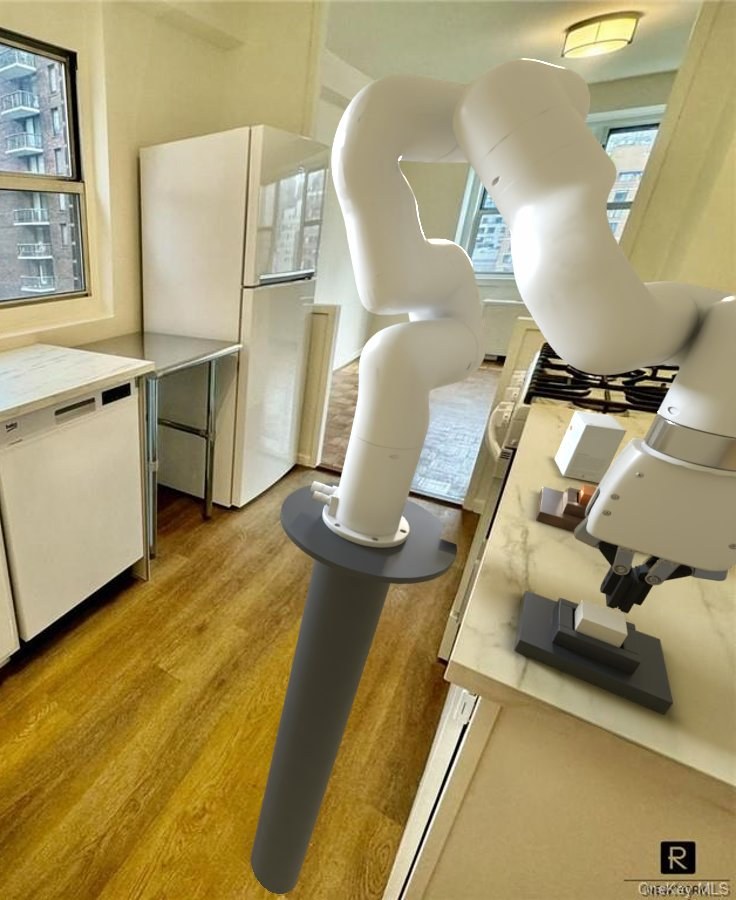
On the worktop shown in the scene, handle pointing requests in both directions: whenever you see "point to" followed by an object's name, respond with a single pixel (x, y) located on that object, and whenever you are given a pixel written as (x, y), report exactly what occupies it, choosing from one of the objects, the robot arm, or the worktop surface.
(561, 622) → the stepped grey stand
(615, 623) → the key
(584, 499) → the key
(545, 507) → the stepped brown stand
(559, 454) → the small box
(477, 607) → the worktop surface
